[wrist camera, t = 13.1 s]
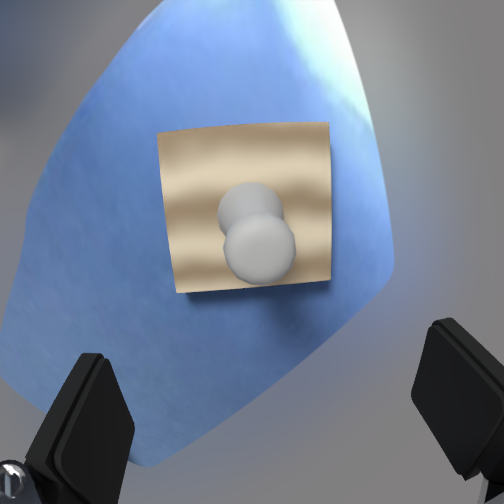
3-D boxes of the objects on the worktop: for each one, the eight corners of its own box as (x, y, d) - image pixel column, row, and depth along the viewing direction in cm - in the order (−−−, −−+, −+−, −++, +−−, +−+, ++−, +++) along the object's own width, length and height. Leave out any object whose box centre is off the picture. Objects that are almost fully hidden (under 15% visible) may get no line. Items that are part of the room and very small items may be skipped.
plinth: (323, 269, 36) (330, 279, 33) (180, 281, 35) (176, 292, 33) (320, 123, 31) (328, 122, 28) (163, 134, 30) (156, 133, 27)
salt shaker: (246, 166, 29) (259, 181, 17) (291, 206, 30) (333, 249, 18) (205, 213, 30) (189, 261, 18) (251, 251, 32) (264, 319, 19)
